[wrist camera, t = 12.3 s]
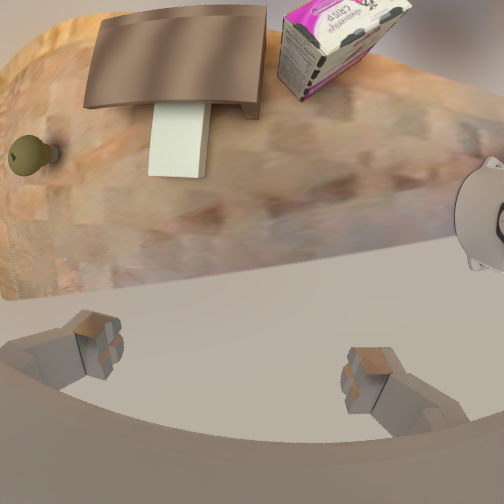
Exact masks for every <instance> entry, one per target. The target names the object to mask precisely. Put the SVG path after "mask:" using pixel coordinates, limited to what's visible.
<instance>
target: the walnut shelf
mask: <svg viewBox="0 0 504 504" xmlns="http://www.w3.org/2000/svg"><path fill="white" fill-rule="evenodd" d="M266 11H267V6H256V5H198V6H184V7H174V8H164V9H157V10H150V11H144V12H138V13H132V14H127V15H122V16H118V17H113V18H109V19H105V20H102V22H101V25H100V29H99V32H98V36H97V40H96V44H95V48H94V52H93V56H92V61H91V65H90V70H89V75H88V80H87V86H86V92H85V98H84V105H83V108H87V109H98V108H106V107H116V106H127V105H140V104H159V103H221V104H240V105H241V107H242V109H243V112H244V115H245V118H246V119H251V120H258V117H259V107H260V97H261V87H262V77H263V67H264V58H265V48H266V15H267V12H266Z"/></svg>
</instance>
